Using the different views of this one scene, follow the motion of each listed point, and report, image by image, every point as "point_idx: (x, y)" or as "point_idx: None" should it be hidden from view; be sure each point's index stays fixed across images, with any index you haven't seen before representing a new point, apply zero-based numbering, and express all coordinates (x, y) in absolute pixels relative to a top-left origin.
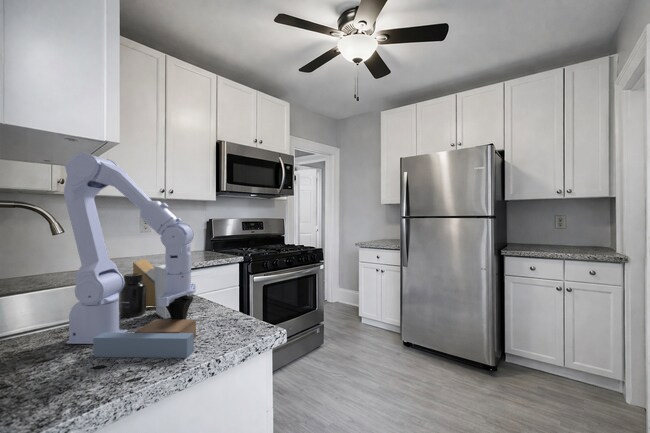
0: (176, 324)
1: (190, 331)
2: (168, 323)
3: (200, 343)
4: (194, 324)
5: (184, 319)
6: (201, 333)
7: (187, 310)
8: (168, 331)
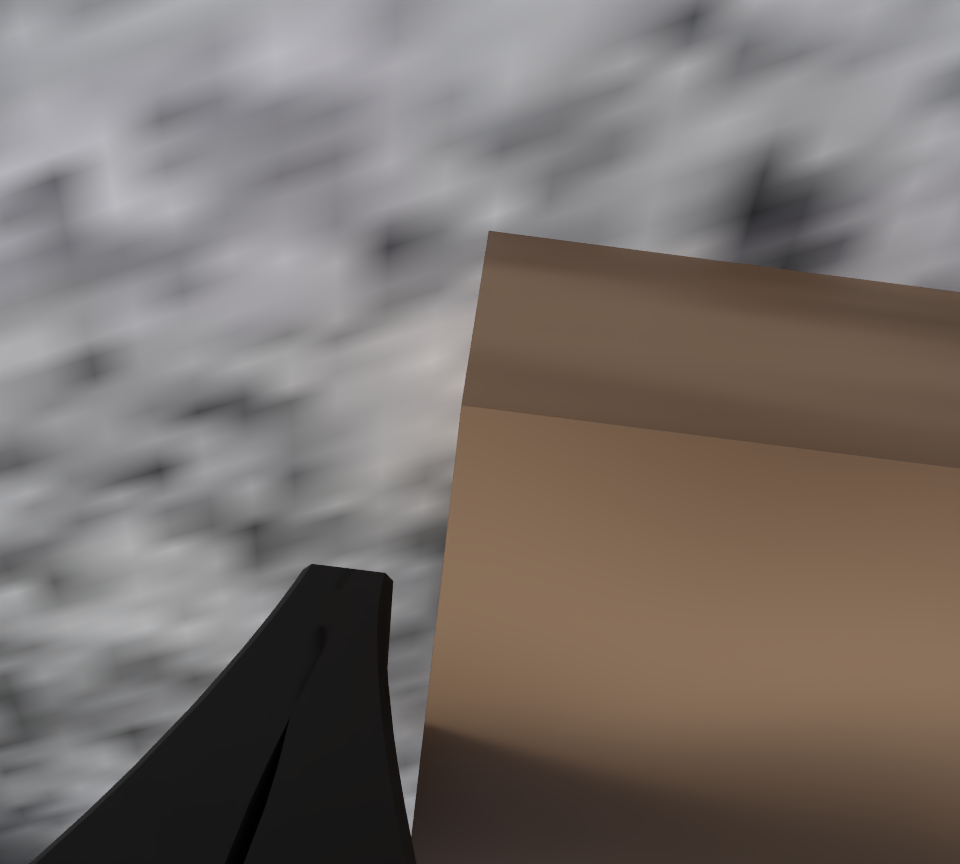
0: (809, 737)
1: (780, 345)
2: (677, 860)
3: (887, 7)
4: (556, 359)
5: (439, 677)
6: (295, 175)
7: (112, 839)
8: None
